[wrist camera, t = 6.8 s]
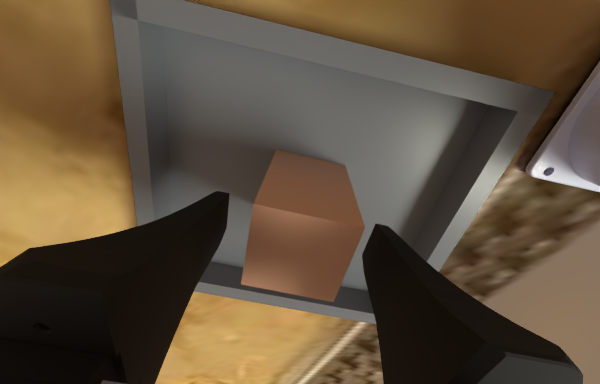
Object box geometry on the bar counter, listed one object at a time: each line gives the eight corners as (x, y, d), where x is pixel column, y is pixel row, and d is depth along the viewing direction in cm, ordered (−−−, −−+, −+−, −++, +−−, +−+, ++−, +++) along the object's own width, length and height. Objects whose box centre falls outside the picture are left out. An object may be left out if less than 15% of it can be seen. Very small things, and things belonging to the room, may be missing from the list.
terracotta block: (345, 165, 14) (365, 228, 9) (326, 221, 16) (333, 302, 11) (276, 149, 14) (253, 203, 8) (265, 208, 16) (240, 284, 10)
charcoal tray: (512, 87, 12) (555, 92, 10) (391, 298, 20) (401, 328, 17) (147, -3, 11) (107, -19, 9) (164, 256, 19) (144, 282, 16)
